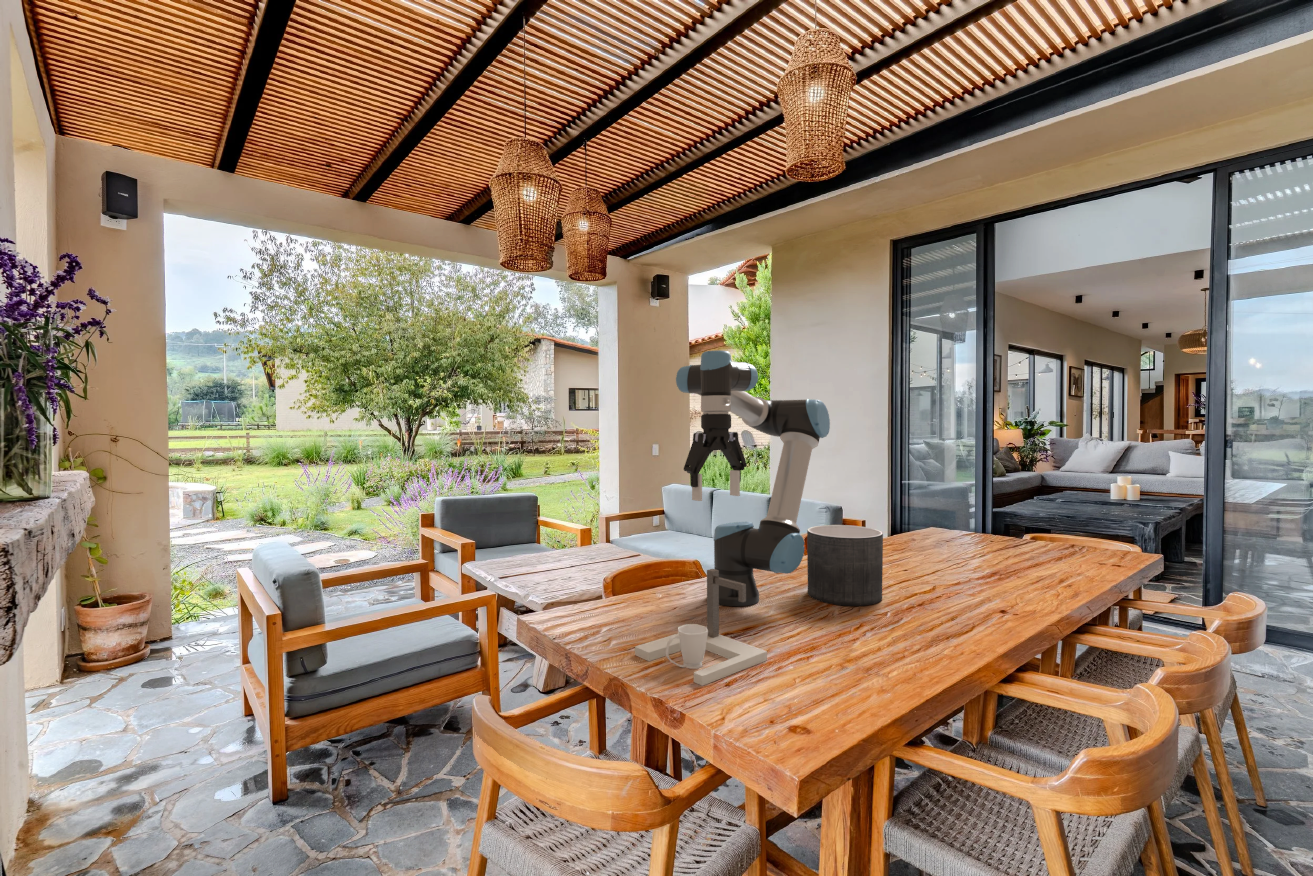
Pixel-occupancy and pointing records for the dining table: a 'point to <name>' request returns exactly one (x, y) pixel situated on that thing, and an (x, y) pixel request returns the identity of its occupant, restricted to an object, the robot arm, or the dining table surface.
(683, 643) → the cup
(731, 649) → the flat u-shaped bracket
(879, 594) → the planter
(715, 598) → the hook arm
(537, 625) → the dining table surface
